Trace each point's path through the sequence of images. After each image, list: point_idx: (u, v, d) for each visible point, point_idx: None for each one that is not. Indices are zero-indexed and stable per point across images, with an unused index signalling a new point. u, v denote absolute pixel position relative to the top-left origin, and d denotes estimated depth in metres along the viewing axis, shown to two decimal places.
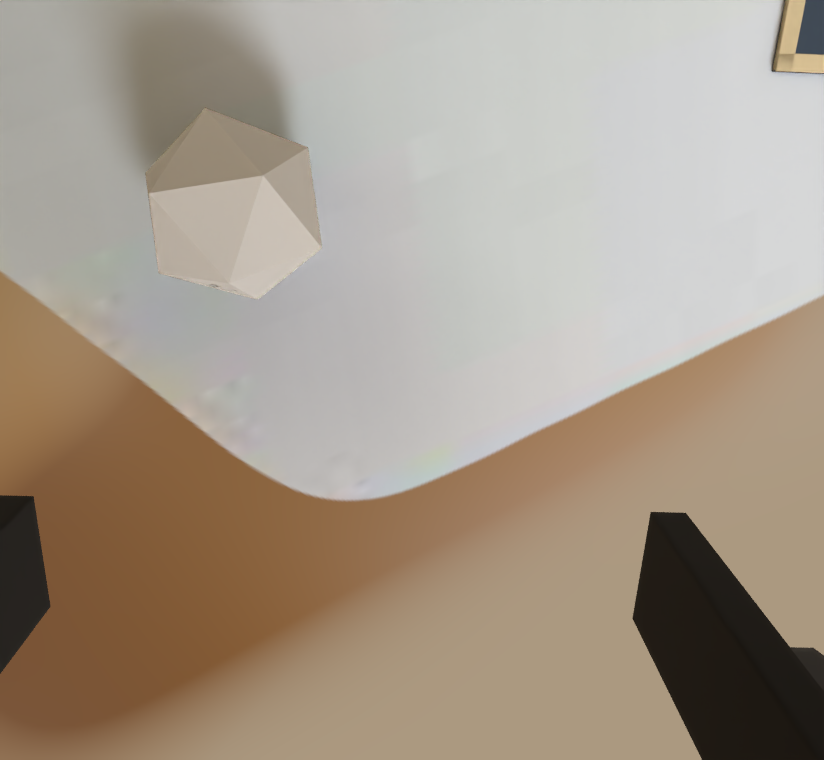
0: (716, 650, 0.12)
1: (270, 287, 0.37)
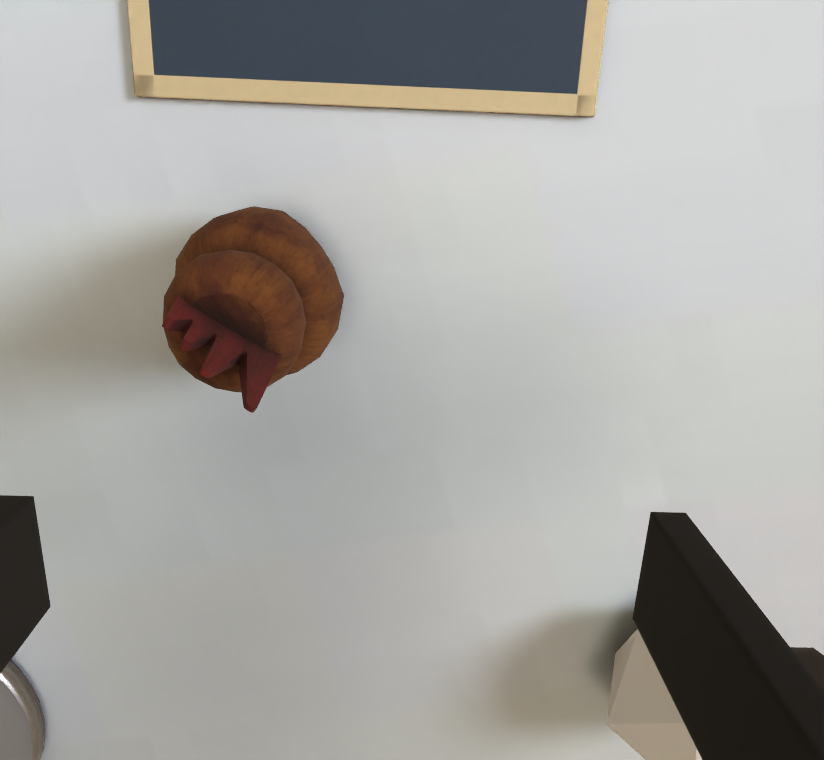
0: (716, 650, 0.12)
1: None
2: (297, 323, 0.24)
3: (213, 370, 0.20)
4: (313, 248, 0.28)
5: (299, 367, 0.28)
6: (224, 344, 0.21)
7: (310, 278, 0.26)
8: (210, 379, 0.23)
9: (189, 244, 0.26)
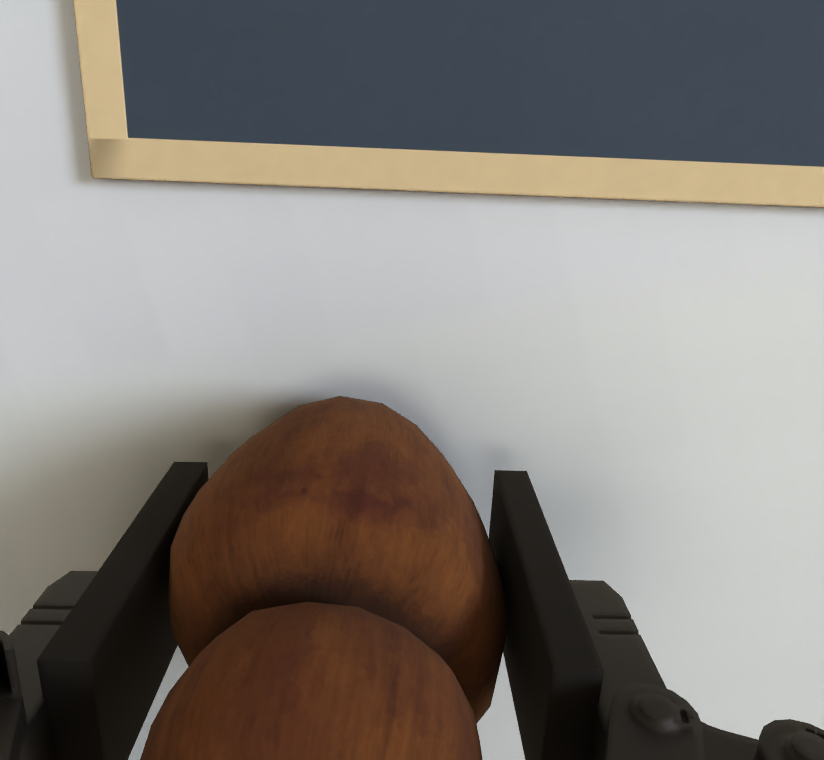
0: (516, 582, 0.13)
1: None
2: None
3: None
4: (455, 505, 0.14)
5: None
6: None
7: (468, 605, 0.12)
8: None
9: (200, 538, 0.12)
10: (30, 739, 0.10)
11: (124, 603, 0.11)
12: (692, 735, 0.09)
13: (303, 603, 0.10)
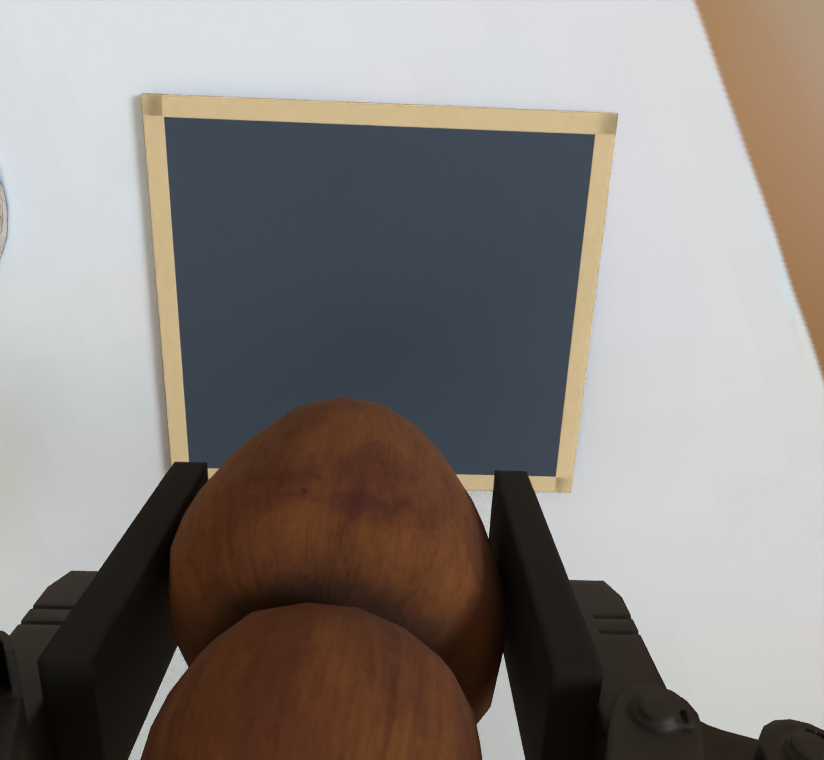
0: (515, 582, 0.13)
1: None
2: None
3: None
4: (455, 505, 0.14)
5: None
6: None
7: (468, 606, 0.12)
8: None
9: (200, 539, 0.12)
10: (30, 739, 0.10)
11: (124, 603, 0.11)
12: (691, 735, 0.09)
13: (303, 604, 0.10)
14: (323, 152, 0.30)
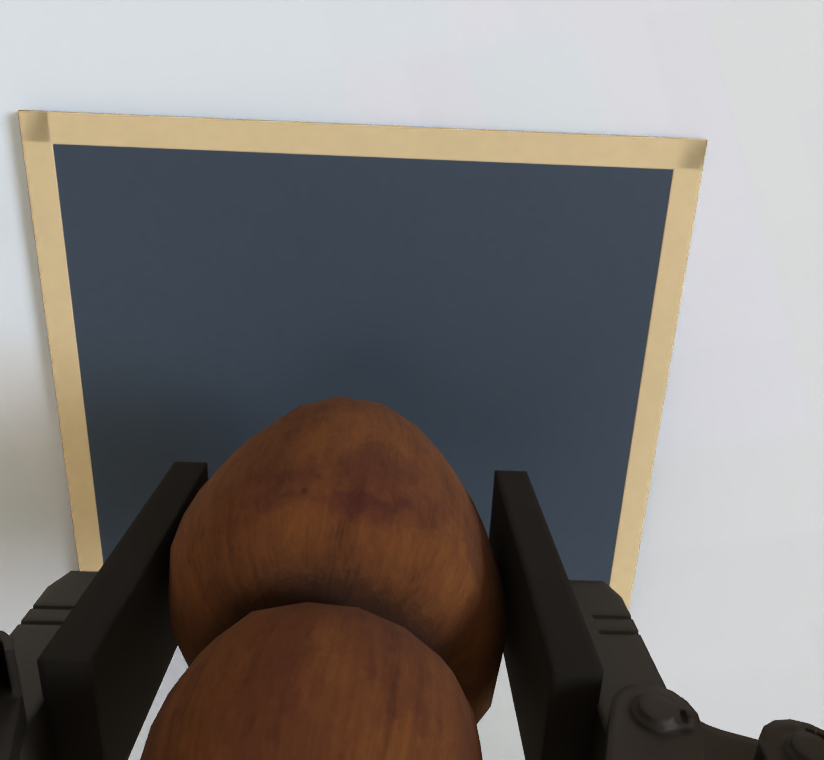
0: (515, 582, 0.13)
1: None
2: None
3: None
4: (456, 505, 0.13)
5: None
6: None
7: (469, 605, 0.12)
8: None
9: (200, 538, 0.12)
10: (30, 739, 0.10)
11: (124, 603, 0.11)
12: (692, 735, 0.09)
13: (303, 603, 0.10)
14: (284, 194, 0.21)
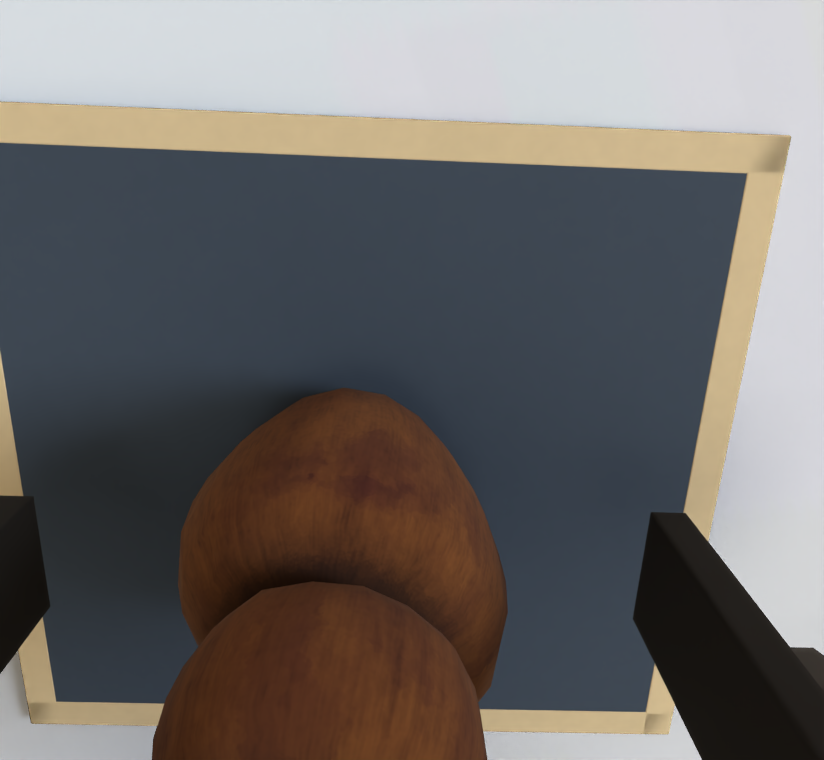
0: (716, 650, 0.12)
1: None
2: None
3: None
4: (457, 492, 0.14)
5: None
6: None
7: (469, 587, 0.12)
8: None
9: (210, 522, 0.12)
10: None
11: None
12: None
13: (311, 582, 0.10)
14: (260, 205, 0.17)
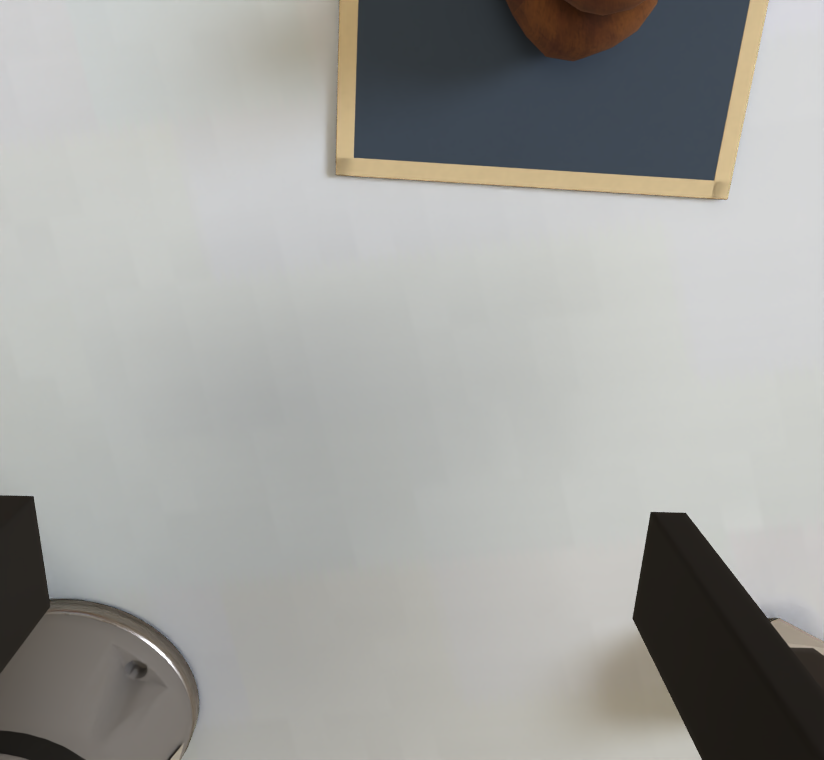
0: (716, 650, 0.12)
1: None
2: None
3: None
4: None
5: (627, 30, 0.27)
6: None
7: None
8: None
9: None
10: None
11: None
12: None
13: None
14: None
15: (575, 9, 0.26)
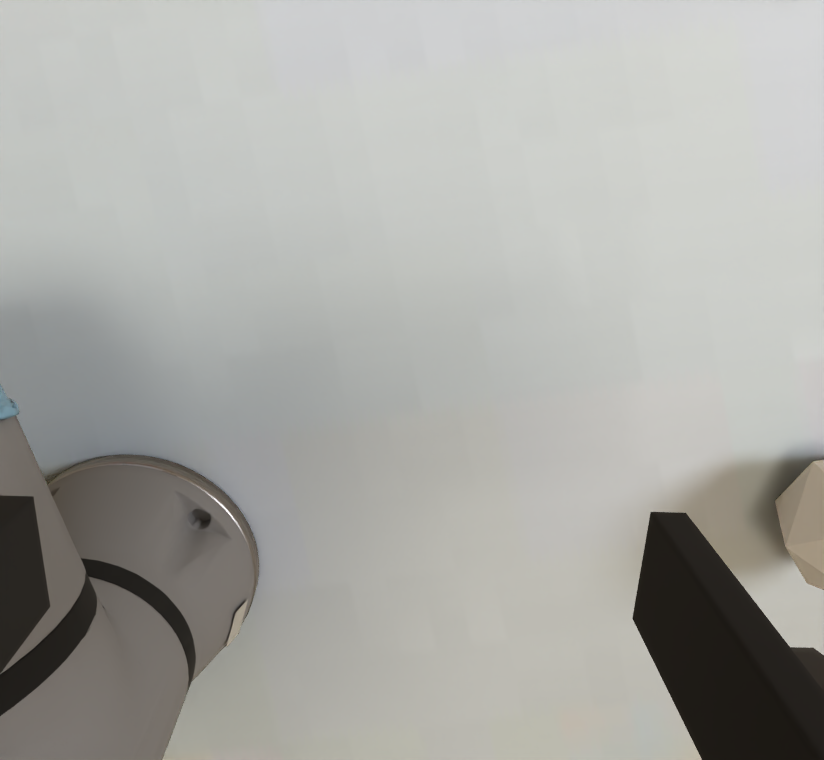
0: (716, 650, 0.12)
1: None
2: None
3: None
4: None
5: None
6: None
7: None
8: None
9: None
10: None
11: None
12: None
13: None
14: None
15: None
